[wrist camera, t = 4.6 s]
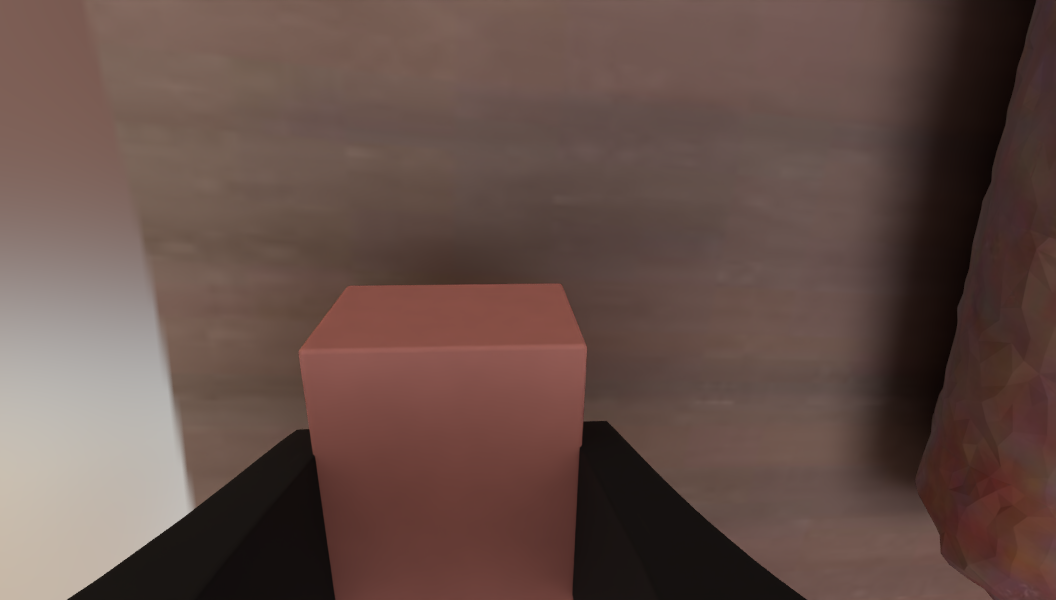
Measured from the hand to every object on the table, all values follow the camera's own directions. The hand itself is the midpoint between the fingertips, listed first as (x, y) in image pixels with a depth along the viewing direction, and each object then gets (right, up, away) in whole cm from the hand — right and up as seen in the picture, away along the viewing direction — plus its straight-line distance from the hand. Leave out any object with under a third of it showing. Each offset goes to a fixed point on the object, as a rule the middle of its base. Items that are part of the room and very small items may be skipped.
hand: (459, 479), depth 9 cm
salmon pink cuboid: (0, 0, +1) cm, 1 cm away
